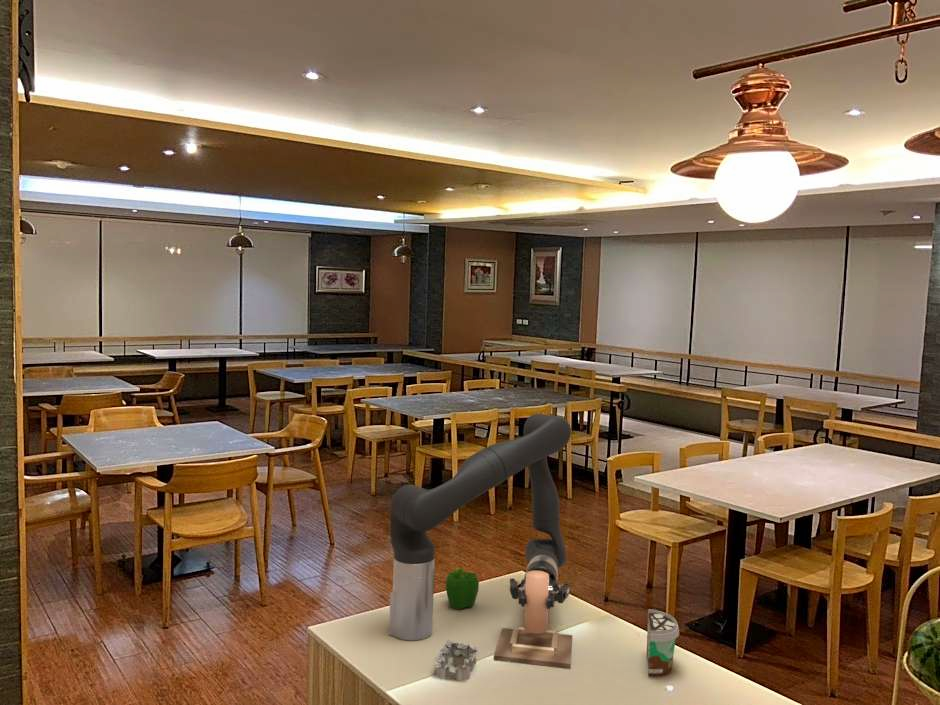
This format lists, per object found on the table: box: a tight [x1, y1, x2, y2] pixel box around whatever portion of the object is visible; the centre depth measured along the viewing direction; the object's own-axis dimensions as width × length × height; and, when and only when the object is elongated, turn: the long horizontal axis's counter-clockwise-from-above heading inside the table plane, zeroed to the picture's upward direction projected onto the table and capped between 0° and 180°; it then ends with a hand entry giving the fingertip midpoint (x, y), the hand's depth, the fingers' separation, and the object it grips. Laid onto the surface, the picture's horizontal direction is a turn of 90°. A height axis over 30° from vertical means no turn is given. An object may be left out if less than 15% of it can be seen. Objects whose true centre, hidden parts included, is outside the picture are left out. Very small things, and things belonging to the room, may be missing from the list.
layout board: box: [493, 626, 573, 670], centre depth 159 cm, size 16×14×2 cm
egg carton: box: [434, 639, 478, 682], centre depth 149 cm, size 11×8×4 cm
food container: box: [646, 608, 680, 678], centre depth 152 cm, size 12×6×10 cm, turn 168°
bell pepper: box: [445, 566, 480, 610], centre depth 182 cm, size 8×8×10 cm
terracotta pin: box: [523, 571, 549, 634], centre depth 159 cm, size 5×5×12 cm
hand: (535, 603), depth 156 cm, fingers closed on terracotta pin, 5 cm apart
